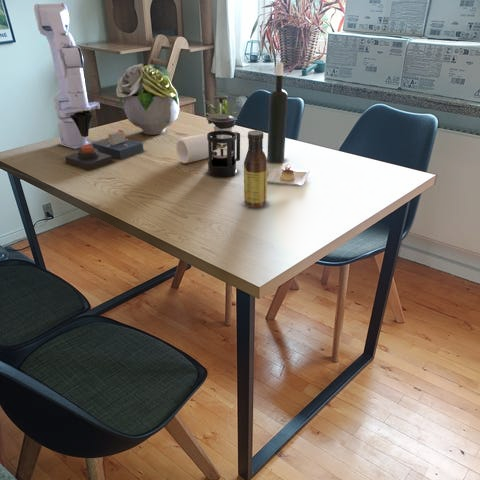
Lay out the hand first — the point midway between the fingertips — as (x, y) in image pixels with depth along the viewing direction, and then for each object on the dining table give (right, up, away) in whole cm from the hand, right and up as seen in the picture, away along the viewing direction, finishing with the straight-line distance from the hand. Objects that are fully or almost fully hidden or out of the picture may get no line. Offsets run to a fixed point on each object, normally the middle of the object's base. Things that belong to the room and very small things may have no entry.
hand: (84, 136), depth 161 cm
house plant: (+44, +7, +24) cm, 50 cm away
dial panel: (+8, 0, +15) cm, 17 cm away
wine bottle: (+63, -6, +8) cm, 64 cm away
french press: (+46, -13, -2) cm, 47 cm away
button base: (0, -7, +5) cm, 9 cm away
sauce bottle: (+55, -28, -23) cm, 66 cm away
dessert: (+66, -16, -7) cm, 68 cm away
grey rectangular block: (+8, +2, +13) cm, 15 cm away
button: (0, -4, +3) cm, 5 cm away
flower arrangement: (+17, +14, +34) cm, 41 cm away
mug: (+34, -5, +9) cm, 36 cm away
